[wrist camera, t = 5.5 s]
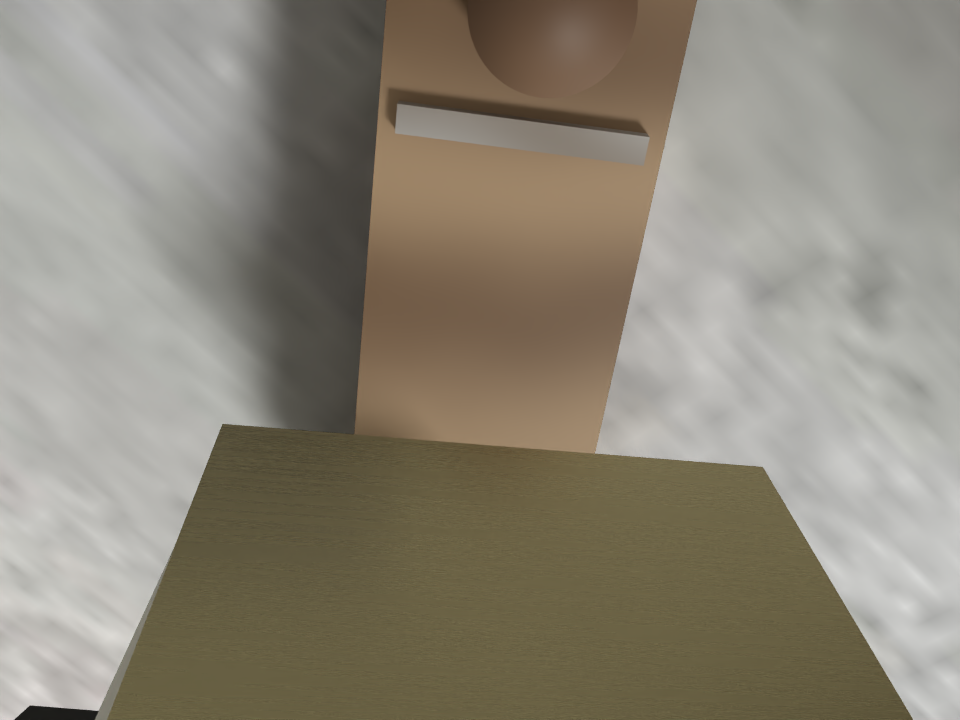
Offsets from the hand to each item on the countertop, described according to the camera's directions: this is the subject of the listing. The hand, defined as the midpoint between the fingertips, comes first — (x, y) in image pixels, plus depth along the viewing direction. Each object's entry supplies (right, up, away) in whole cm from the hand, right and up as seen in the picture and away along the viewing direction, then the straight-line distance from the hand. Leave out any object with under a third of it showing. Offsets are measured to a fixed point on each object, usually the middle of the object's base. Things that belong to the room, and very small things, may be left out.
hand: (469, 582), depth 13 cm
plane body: (+1, +6, +11) cm, 13 cm away
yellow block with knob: (0, -1, -2) cm, 2 cm away
